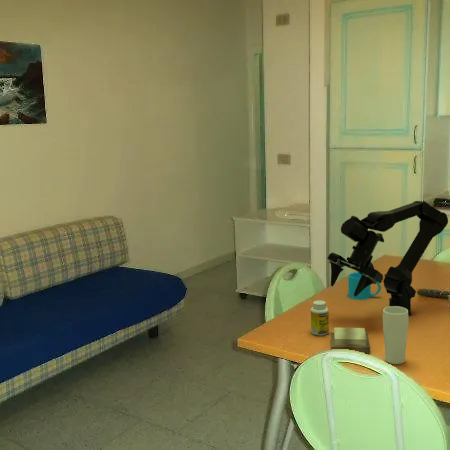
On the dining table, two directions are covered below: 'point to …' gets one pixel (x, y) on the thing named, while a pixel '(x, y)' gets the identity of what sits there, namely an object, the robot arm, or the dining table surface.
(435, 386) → the dining table surface
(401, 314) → the drinking glass
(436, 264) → the dining table surface
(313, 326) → the supplement bottle
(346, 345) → the stand
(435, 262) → the dining table surface
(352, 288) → the mug
